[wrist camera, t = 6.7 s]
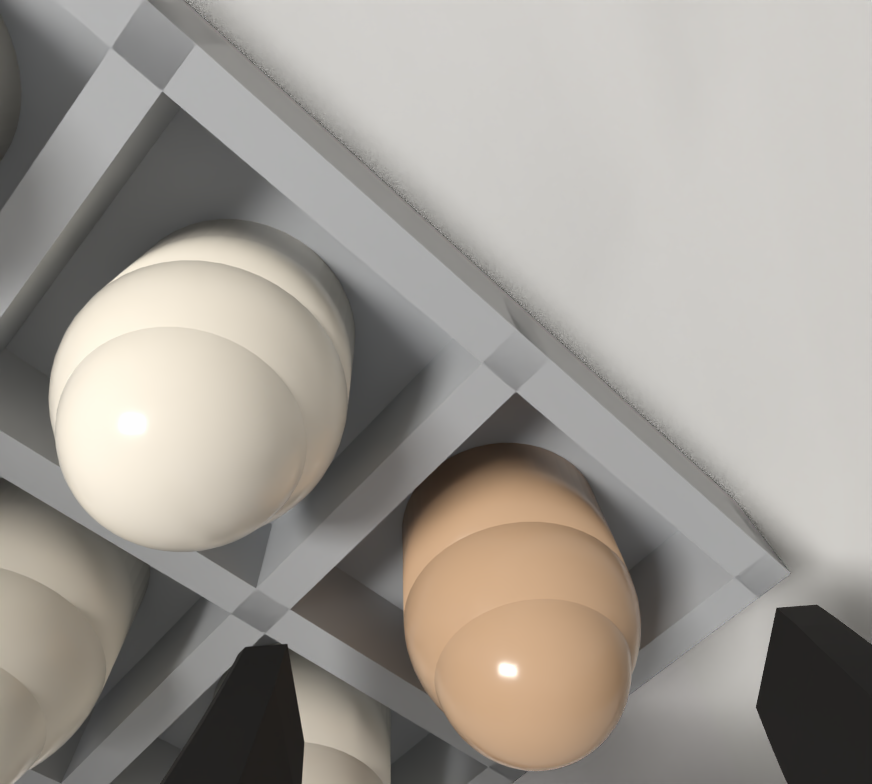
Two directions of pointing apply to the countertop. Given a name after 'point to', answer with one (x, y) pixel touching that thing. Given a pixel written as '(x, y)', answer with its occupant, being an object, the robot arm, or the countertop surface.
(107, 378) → the cream eggs
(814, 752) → the robot arm
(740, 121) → the countertop surface
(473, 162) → the countertop surface
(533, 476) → the brown egg
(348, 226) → the egg carton
